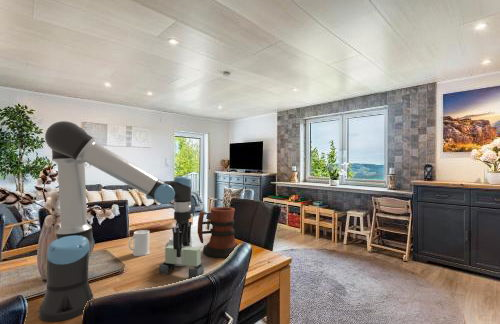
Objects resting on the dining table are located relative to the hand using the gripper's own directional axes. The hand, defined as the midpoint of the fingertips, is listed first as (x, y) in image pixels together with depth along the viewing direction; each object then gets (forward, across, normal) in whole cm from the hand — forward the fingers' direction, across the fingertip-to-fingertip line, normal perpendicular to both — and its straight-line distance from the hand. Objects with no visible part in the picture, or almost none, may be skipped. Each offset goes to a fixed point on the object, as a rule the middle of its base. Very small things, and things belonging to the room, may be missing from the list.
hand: (182, 261), depth 119 cm
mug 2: (+6, +10, +8) cm, 14 cm away
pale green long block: (+1, 0, 0) cm, 1 cm away
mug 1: (+5, +15, +36) cm, 39 cm away
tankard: (+6, +32, -5) cm, 33 cm away
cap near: (+5, 0, -7) cm, 9 cm away
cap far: (+5, 0, +8) cm, 9 cm away
